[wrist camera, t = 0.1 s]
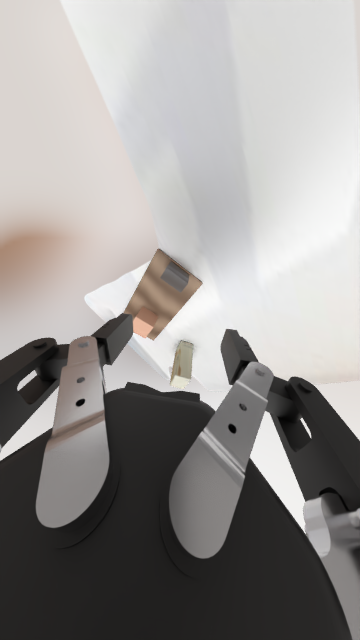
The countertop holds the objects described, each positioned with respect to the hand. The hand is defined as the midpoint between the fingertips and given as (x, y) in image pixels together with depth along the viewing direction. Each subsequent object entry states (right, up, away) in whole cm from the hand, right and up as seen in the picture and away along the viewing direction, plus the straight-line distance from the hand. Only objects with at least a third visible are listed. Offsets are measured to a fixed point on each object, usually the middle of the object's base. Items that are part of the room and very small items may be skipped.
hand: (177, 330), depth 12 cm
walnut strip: (-6, +5, +25) cm, 26 cm away
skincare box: (+2, -8, +34) cm, 35 cm away
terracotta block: (-9, +2, +27) cm, 28 cm away
